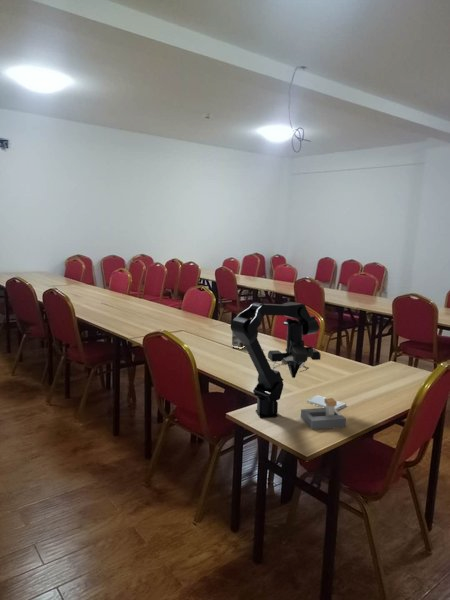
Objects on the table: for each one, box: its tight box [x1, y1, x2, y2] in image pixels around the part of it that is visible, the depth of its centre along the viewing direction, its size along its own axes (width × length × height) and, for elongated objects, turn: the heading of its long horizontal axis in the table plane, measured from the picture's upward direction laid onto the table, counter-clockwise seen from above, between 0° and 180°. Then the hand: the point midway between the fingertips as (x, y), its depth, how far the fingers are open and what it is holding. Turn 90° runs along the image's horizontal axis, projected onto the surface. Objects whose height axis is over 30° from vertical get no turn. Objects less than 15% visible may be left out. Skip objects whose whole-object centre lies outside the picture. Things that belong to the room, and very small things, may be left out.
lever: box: [325, 397, 337, 416], centre depth 149 cm, size 3×3×6 cm
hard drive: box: [306, 394, 347, 411], centre depth 166 cm, size 2×8×12 cm
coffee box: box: [231, 331, 245, 347], centre depth 252 cm, size 9×6×16 cm
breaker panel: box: [300, 407, 347, 431], centre depth 148 cm, size 12×10×3 cm
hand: (293, 377), depth 162 cm, fingers closed
